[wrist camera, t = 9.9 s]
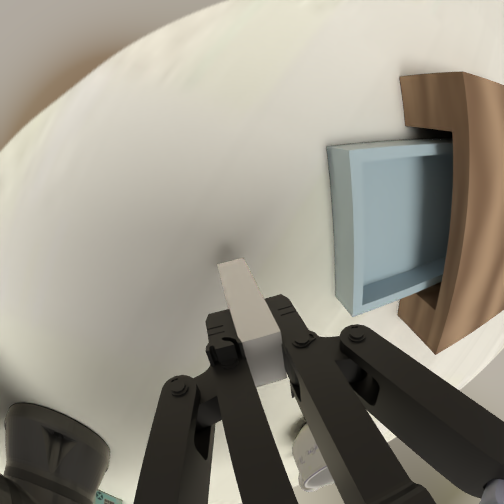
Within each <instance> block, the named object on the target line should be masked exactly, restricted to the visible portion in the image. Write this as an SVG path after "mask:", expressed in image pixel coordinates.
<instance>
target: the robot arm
mask: <svg viewBox="0 0 504 504" xmlns="http://www.w3.org/2000/svg"><path fill="white" fill-rule="evenodd" d="M217 266H218V270H219V274H220V278H221V282H222V286H223V290H224V294H225V298H226V302H227V306H228V309H227V310H223V311H219V312H215V313H211V314H209V315H208V317H207V320H206V327H207V333H208V339H209V343H208V345H207V346H206V354H207V356H208V359H209V361H210V364H211V365H210V367H209V368H208V370H206V371H205V372H204V373H203V374H201V375H199V376H197V377H195V378H191V377H189V376H185V375H180V376H175V377H173V378H171V379H169V380H168V381H167V382H166V383H165V384H164V386H163V388H162V391H161V395H160V398H159V402H158V406H157V409H156V413H155V417H154V420H153V424H152V428H151V432H150V436H149V440H148V444H147V448H146V452H145V456H144V460H143V464H142V468H141V472H140V477H139V481H138V486H137V490H136V495H135V499H134V504H208V494H209V484H210V473H211V462H212V452H213V442H214V433H215V423H217V422H218V421H220V420H222V422H223V426H224V431H225V435H226V440H227V444H228V448H229V452H230V457H231V461H232V465H233V469H234V473H235V477H236V481H237V484H238V488H239V492H240V496H241V499H242V503H243V504H298V502H297V499H296V497H295V494H294V491H293V489H292V486H291V484H290V481H289V478H288V476H287V473H286V471H285V468H284V465H283V463H282V460H281V457H280V454H279V452H278V449H277V446H276V444H275V441H274V438H273V435H272V432H271V430H270V427H269V424H268V421H267V418H266V415H265V413H264V410H263V407H262V404H261V401H260V398H259V395H258V392H257V389H256V387H259V386H262V385H266V384H269V383H273V382H276V381H279V380H282V379H286V378H287V375H288V377H289V379H290V386H291V394H292V398H293V397H295V398H296V400H297V402H298V405H299V407H300V409H301V411H302V413H303V416H304V418H305V420H306V422H307V424H308V427H309V429H310V431H311V433H312V435H313V437H314V440H315V442H316V444H317V446H318V448H319V450H320V452H321V455H322V457H323V459H324V461H325V463H326V465H327V467H328V470H329V472H330V474H331V476H332V478H333V480H334V482H335V484H336V486H337V488H338V491H339V493H340V494H341V497H342V499H343V501H344V503H345V504H436V503H435V501H434V500H433V498H432V497H431V495H430V493H429V492H428V491H427V490H426V488H424V487H423V486H422V485H419V484H416V483H414V482H412V481H411V479H410V478H409V477H408V475H407V473H406V472H405V470H404V469H403V467H402V465H401V464H400V462H399V461H398V459H397V458H396V456H395V454H394V453H393V451H392V450H391V448H390V447H389V445H388V443H387V442H386V440H385V439H384V437H383V435H382V434H381V432H380V431H379V429H378V428H377V426H376V424H375V423H374V421H373V420H372V418H371V417H370V415H369V414H368V412H367V411H369V412H370V413H371V414H372V415H373V416H374V417H375V418H376V419H377V420H379V421H380V422H381V423H382V424H383V425H384V426H385V427H386V428H388V429H389V430H390V431H391V432H392V433H393V434H394V435H396V436H397V437H398V438H399V439H400V440H401V441H402V442H404V443H405V444H406V445H407V446H408V447H409V448H411V449H412V450H413V451H414V452H415V453H416V454H418V455H419V456H420V457H421V458H422V459H423V460H425V461H426V462H427V463H428V464H430V465H431V466H432V467H433V468H434V469H435V470H437V471H438V472H439V473H440V474H441V475H443V476H444V477H445V478H446V479H448V480H449V481H450V482H451V483H453V484H454V485H455V486H456V487H458V488H459V489H461V490H462V491H464V492H466V493H468V494H470V495H472V496H475V497H478V498H481V501H480V503H479V504H504V422H503V421H502V420H500V419H499V418H497V417H496V416H495V415H493V414H492V413H490V412H489V411H488V410H486V409H485V408H483V407H482V406H480V405H479V404H478V403H476V402H475V401H473V400H472V399H470V398H469V397H468V396H466V395H465V394H463V393H462V392H460V391H459V390H458V389H456V388H455V387H453V386H452V385H450V384H449V383H448V382H446V381H445V380H443V379H442V378H440V377H439V376H438V375H436V374H435V373H433V372H432V371H430V370H429V369H427V368H426V367H425V366H423V365H422V364H420V363H419V362H417V361H416V360H415V359H413V358H412V357H410V356H409V355H407V354H406V353H404V352H403V351H402V350H400V349H399V348H397V347H396V346H394V345H393V344H391V343H390V342H389V341H387V340H386V339H384V338H383V337H381V336H380V335H378V334H377V333H376V332H374V331H373V330H371V329H370V328H368V327H366V326H364V325H358V324H357V325H350V326H348V327H345V328H344V329H343V330H342V331H341V334H340V336H336V337H319V336H318V335H317V334H316V333H315V332H312V331H310V330H308V328H307V327H306V325H305V323H304V322H303V320H302V319H301V317H300V316H299V314H298V312H296V309H295V308H294V306H293V305H292V303H291V301H290V300H289V299H288V298H287V297H285V296H283V295H281V294H280V295H277V296H273V297H269V298H266V299H264V297H263V295H262V293H261V291H260V289H259V287H258V285H257V283H256V281H255V279H254V277H253V275H252V273H251V271H250V269H249V267H248V265H247V263H246V261H245V259H244V258H240V259H236V260H232V261H228V262H224V263H220V264H217ZM286 372H287V375H286ZM5 430H6V436H5V443H6V467H5V471H4V476H3V475H2V474H0V504H93V499H94V496H95V494H96V492H97V490H98V488H99V485H100V483H101V481H102V479H103V476H104V474H105V472H106V471H107V470H108V467H109V459H110V450H109V448H108V446H107V445H106V443H105V442H104V441H103V440H102V439H101V438H100V437H99V436H98V435H96V434H95V433H94V432H92V431H91V430H89V429H88V428H86V427H85V426H83V425H81V424H80V423H78V422H76V421H74V420H72V419H70V418H68V417H66V416H64V415H62V414H60V413H57V412H55V411H52V410H50V409H47V408H44V407H41V406H37V405H33V404H27V403H17V404H14V405H12V406H11V407H10V408H9V411H8V413H7V416H6V419H5Z"/></svg>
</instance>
